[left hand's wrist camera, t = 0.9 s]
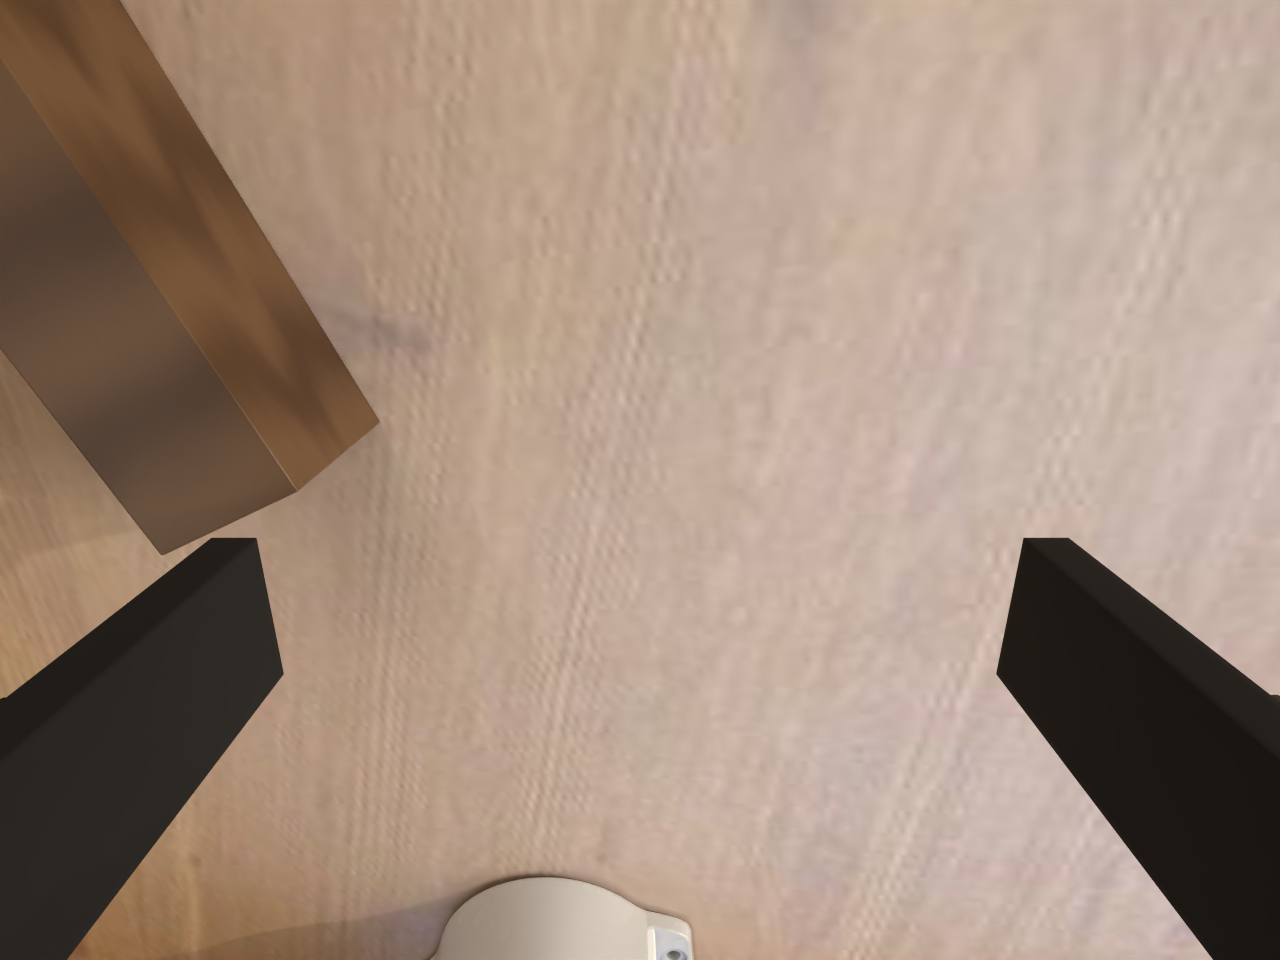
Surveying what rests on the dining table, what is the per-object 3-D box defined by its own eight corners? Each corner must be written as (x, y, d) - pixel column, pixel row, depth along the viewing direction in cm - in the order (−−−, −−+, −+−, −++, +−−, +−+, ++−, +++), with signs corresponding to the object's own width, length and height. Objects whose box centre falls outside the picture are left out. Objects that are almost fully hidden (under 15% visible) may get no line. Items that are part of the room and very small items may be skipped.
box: (-63, -15, 29) (-354, -105, 21) (61, -96, 28) (-191, -225, 20) (273, 473, 36) (161, 556, 28) (380, 422, 36) (297, 491, 27)
